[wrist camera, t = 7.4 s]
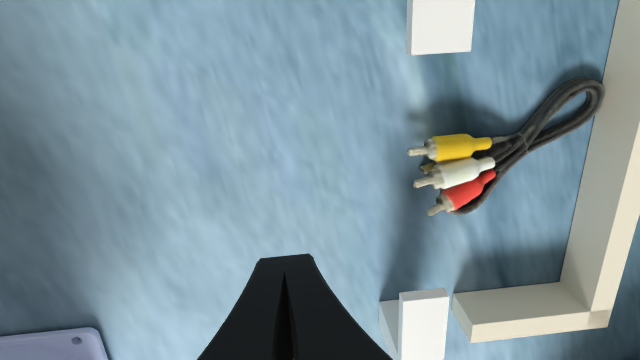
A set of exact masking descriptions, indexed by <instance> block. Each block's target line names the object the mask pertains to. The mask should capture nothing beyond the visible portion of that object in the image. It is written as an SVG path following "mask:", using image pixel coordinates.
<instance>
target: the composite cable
mask: <svg viewBox="0 0 640 360" xmlns="http://www.w3.org/2000/svg"><path fill="white" fill-rule="evenodd" d="M584 91H586V94H587V98H586V101H585V104H584V105H583V107H582V108H581V109H580V110H579V111H578V112H577V113H576V114H575V115H573V116H572V117H571V118H569V119H567V120H565V121H563V122H561V123H560V124H558V125H556V126H553V127H551V128H549V129H546V130H544V131H542V132H540V131H541V130H542V128H543V127H544V126H545V124H546V123H547V122H548V121H549V120H550V119H552V117H553V116H554V115H555V114H556V113H557V112H558V111H559V110H560V109H561V108H562V107H564V106H565V105H566V104H567V103H568V102H569V101H570V100H571V99H573V98H574V97H575V96H576V95H578V94H579V93H582V92H584ZM604 95H605V89H604V85H603V84H602V83H600V82H598V81H594V80H590V79H587V78H585V77H578V78H574V79H572V80H570V81H568V82H566V83H564V84H563V85H562V86H560V87H559V88H558V89H556V90H555V91H554V92H553V93H552V94H551V95H550V96H549V97H548V98H547V99H546V100H545V102H544V103H543V104H542V105H541V106H540V107H539V109H538V110H537V111H536V113H535V114H534V115H533V116H532V117H531V118H530V119H529V121H528V122H527V123H526V124H525V126H524V127H523V128H522V129H521V130H520V131H519V132H518V133H516V134H513V135H509V136H505V137H500V136H494V137H490V138H489V137H483V138H473V137H471V136H470V135H468V134H454V135H444V136H433V137H432V138H430V139H429V140H426V141H425V142H424V146H421V147H410V148H409V149H408V150H407V153H408V155H410V156H417V155H425V156H427V157H428V158H430V159H432V160H433V162H430V163H428V164H426V165H423V166H420V170H421V171H422V172H423V173H424V174H427V177H424V178H421V179H416V180H415V181H414V187H415V188H419V187H421V186H425V185H428V184H431V185H432V186H433V187H434V189H438V188H442V189H441V191H440V195H439V196H438V197H437V198H436V203H437V205H435V206H433V207H431V208H429V209H428V210H427V212H426V213H427V216H432V215H434V214H436V213H437V212H439V211H440V210H443V211H444V212H449V213H452V214H454V215H462V214H467V213H469V212H472V211H473V210H475V209H477V208H478V207H479V206H480V205H481V204H482V203H483V202H484V201H485V200H486V199H487V197H488V196H489V195H490V193H491V192H492V191H493V189H494V188H495V187H496V185H497V184H498V182H499V181H500V179H501V178H502V177H503V176H504V175H505V174H506V173H507V172H508V171H509V170H510V169H511V168H512V167H513V166H514V165H515V164H516V163H517V162H518V161H519V160H521V159H522V158H523V157H525V156H526V155H527V154H528V153H530V152H532V151H534V150H536V149H538V148H540V147H542V146H544V145H546V144H548V143H550V142H552V141H554V140H556V139H559V138H561V137H563V136H565V135H567V134H569V133H571V132H573V131H575V130H576V129H578V128H579V127H581V126H582V125H584V124H585V123H586V122H588V121H589V120H590V119H591V118H592V117H593V116H594V115H595V114H596V113H597V112H598V111H599V109H600V107H601V104H602V102H603V99H604ZM470 200H471V201H470ZM467 202H468V203H467ZM466 203H467V204H466ZM464 204H465V205H464Z"/></svg>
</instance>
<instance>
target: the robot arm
mask: <svg viewBox="0 0 640 360" xmlns="http://www.w3.org/2000/svg"><path fill="white" fill-rule="evenodd" d="M76 337H79V338H81V339H78V338H76ZM293 359H294V360H393V359H392V358H391V357H390V356H389V355H388V354H387V353H386V352H384V351H383V350H382V349H381V348H380V347H379V346H378V345H377V344H376V343H375V342H374V341H373V340H372V339H371V338H370V337H369V336H368V334H367V333H366V332H365V331H364V330H363V329H362V328H361V327H360V326H359V325H358V323H357V322H356V321H355V320H354V319H353V318H352V316H351V315H350V314H349V313H348V312H347V310H346V309H345V308H344V306H343V305H342V304H341V303H340V301H339V300H338V298H337V297H336V296H335V294H334V293H333V292H332V290H331V289H330V287H329V286H328V284H327V283H326V281H325V280H324V278H323V276H322V275H321V273H320V271H319V269H318V267H317V266H316V263H315V261H314V258H313V257H312V256H311V255H310V254H300V255H290V256H280V257H270V258H261V259H260V260H259V261H258V262H257V263H256V266H255V268H254V271H253V273H252V275H251V277H250V279H249V281H248V283H247V285H246V287H245V288H244V290H243V292H242V294H241V296H240V297H239V299H238V301H237V302H236V304H235V306H234V307H233V309H232V311H231V312H230V314H229V316H228V317H227V319H226V320H225V321H224V323H223V324H222V326H221V327H220V329H219V330H218V332H217V333H216V335H215V336H214V338H213V339H212V340H211V342H210V343H209V345H208V346H207V347H206V348H205V350H204V351H203V352H202V354H201V355H200V356H199V358H198V359H197V360H293ZM0 360H108V357H107V355H106V352H105V349H104V346H103V343H102V340H101V337H100V334H99V332H98V331H97V330H96V329H94V328H89V327H86V328H77V329H68V330H58V331H49V332H40V333H30V334H21V335H12V336H3V337H0Z"/></svg>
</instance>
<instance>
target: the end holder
mask: <svg viewBox="0 0 640 360" xmlns="http://www.w3.org/2000/svg"><path fill="white" fill-rule="evenodd" d="M602 84H603V85H604V89H605V95H604V99H603V102H602V104H601V107H600V109H599V111H598V112H597V113H596V114H595V118H594V123H593V127H592V132H591V137H590V142H589V146H588V151H587V156H586V160H585V165H584V170H583V174H582V179H581V184H580V188H579V193H578V198H577V202H576V207H575V212H574V216H573V221H572V226H571V230H570V235H569V240H568V244H567V249H566V254H565V258H564V263H563V268H562V273H561V277H560V282H554V283H545V284H536V285H527V286H518V287H508V288H499V289H490V290H481V291H472V292H462V293H453V300H452V312H453V314H454V315H455V317H456V319H457V321H458V322H459V324H460V326H461V327H462V329H463V331H464V333H465V334H466V336H467V338H468V339H469V341H470V343H476V342H484V341H493V340H501V339H510V338H518V337H527V336H535V335H544V334H552V333H561V332H569V331H578V330H586V329H595V328H603V327H607V326H608V323H609V319H610V316H611V312H612V309H613V305H614V302H615V298H616V295H617V291H618V288H619V284H620V281H621V277H622V274H623V270H624V267H625V263H626V260H627V256H628V253H629V249H630V246H631V242H632V238H633V235H634V231H635V228H636V224H637V221H638V217H639V214H640V0H620V1H619V6H618V10H617V15H616V20H615V25H614V29H613V34H612V39H611V43H610V48H609V53H608V57H607V62H606V67H605V71H604V76H603V81H602Z"/></svg>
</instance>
